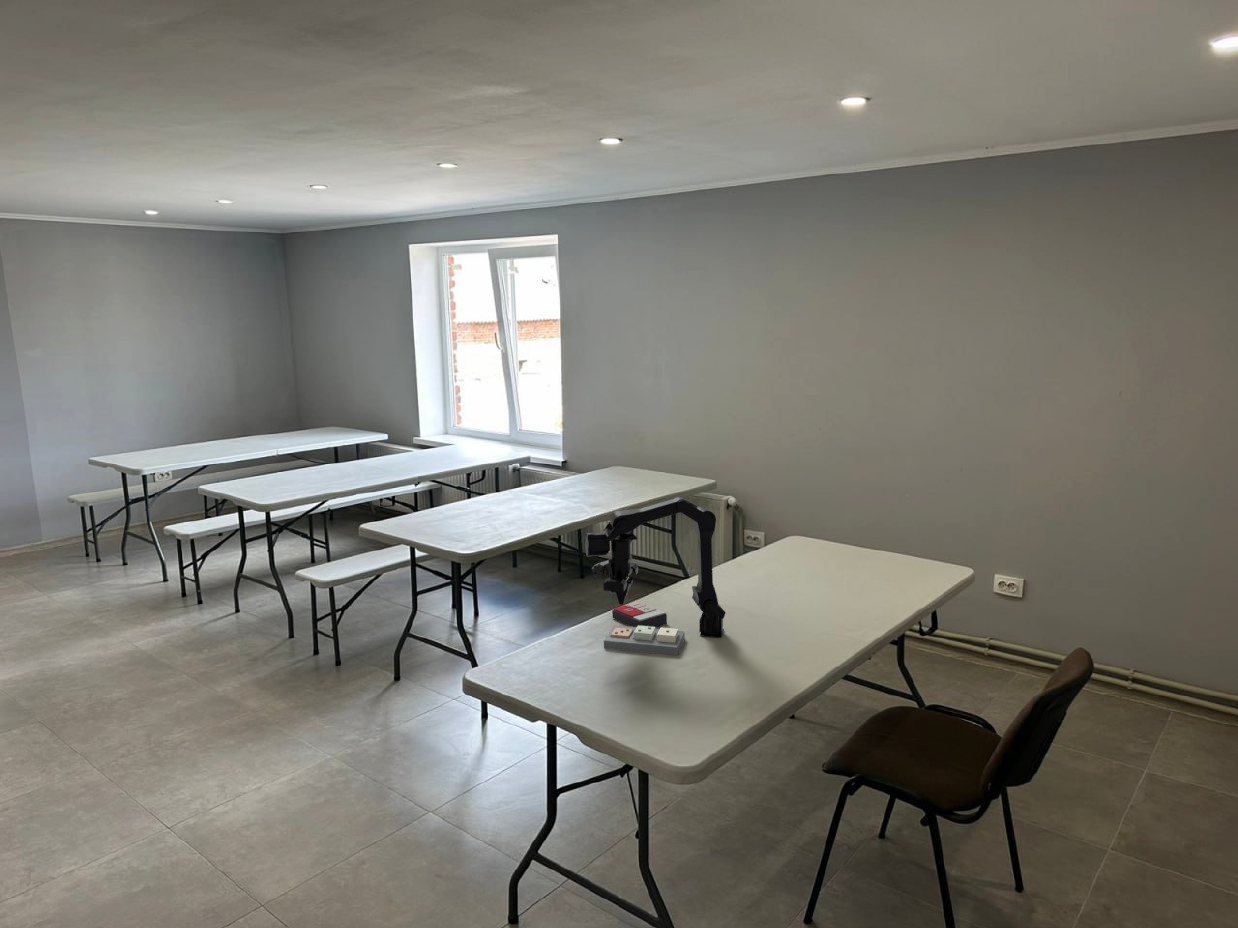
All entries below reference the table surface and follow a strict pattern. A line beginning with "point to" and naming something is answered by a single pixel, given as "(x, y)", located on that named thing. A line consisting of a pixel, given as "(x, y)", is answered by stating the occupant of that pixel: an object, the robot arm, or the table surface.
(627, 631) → the tile
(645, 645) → the console
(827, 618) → the table surface
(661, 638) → the tile
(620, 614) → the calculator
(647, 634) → the tile
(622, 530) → the robot arm
